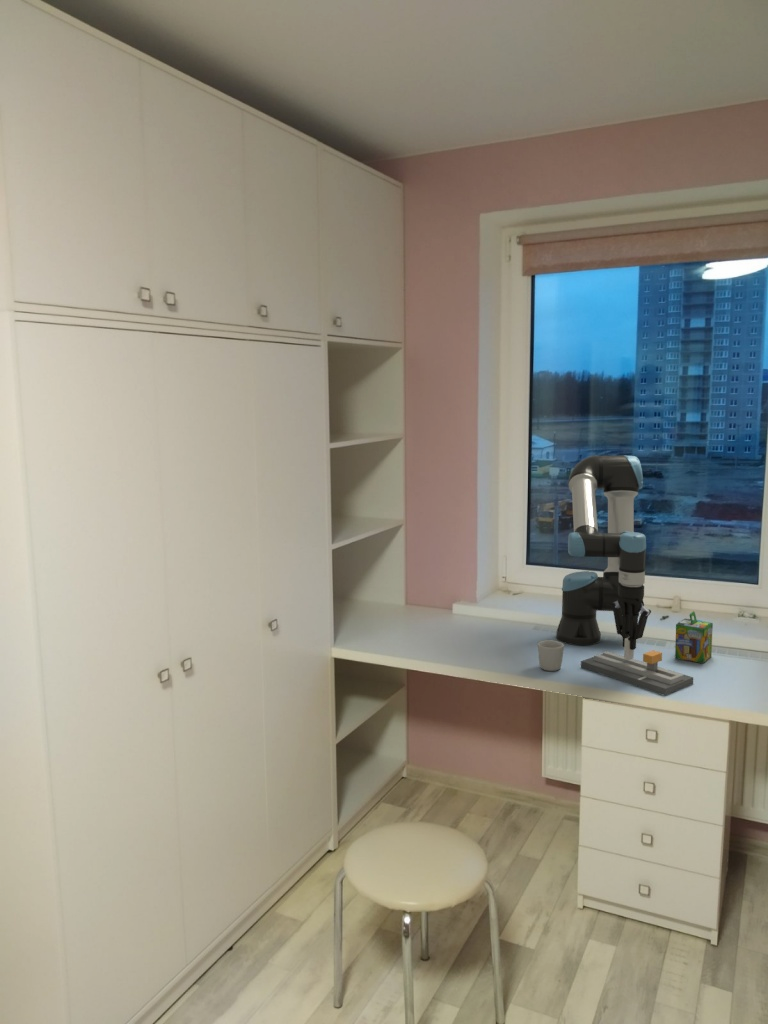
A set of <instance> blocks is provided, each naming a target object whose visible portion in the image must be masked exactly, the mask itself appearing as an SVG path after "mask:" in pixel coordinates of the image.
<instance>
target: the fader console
mask: <svg viewBox="0 0 768 1024" xmlns="http://www.w3.org/2000/svg"><path fill="white" fill-rule="evenodd" d="M580 668H582V669H585V670H588V671H591V672H593V673H594V672H595V673H597V674H600V675H603V676H607V677H609V678H612V679H615V680H618V681H621V682H624V683H627V684H629V685H633V686H635V687H639V688H641V689H645V690H647V691H651V692H653V693H657V694H659V695H662V696H667V695H670V694H672V693H675V692H677V691H680V690H682V689H684V688H686V687H689V686H691V685H694V677H693V676H689V675H688V674H687V675H686V674H683V673H679V672H677V671H674V670H670V669H668V668H664V667H660V666H658V668H657V673H656V672H653V671H650V670H647V663H646V662H643V661H641V660H636V659H634V658H633V659H630V660H626V659H624V655H621V654H618V653H614V652H611V651H604V652H602V653H601V654H599V653H598V654H595V655H593V657H589V658H586V659H583V660H581V661H580Z"/></svg>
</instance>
